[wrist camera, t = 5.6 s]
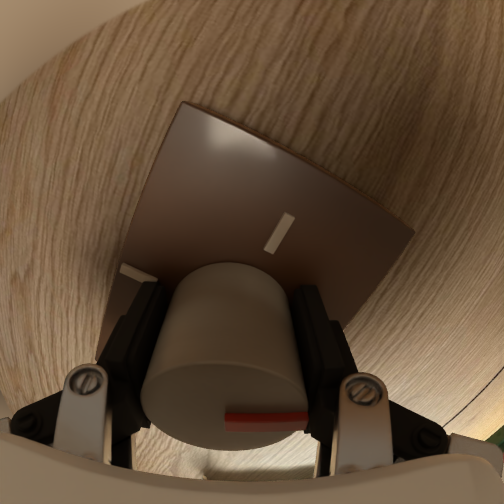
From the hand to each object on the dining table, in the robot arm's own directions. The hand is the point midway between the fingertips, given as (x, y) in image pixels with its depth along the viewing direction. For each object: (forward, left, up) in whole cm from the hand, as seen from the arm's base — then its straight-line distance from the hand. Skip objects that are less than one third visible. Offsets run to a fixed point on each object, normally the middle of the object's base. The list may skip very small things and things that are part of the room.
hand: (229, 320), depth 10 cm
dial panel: (0, 0, -3) cm, 3 cm away
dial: (0, 0, 0) cm, 0 cm away
